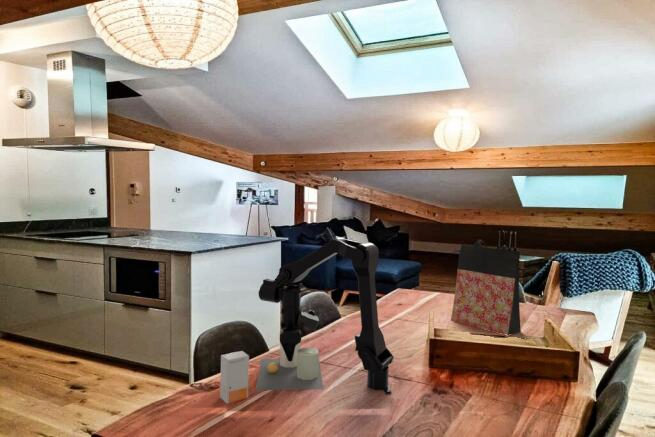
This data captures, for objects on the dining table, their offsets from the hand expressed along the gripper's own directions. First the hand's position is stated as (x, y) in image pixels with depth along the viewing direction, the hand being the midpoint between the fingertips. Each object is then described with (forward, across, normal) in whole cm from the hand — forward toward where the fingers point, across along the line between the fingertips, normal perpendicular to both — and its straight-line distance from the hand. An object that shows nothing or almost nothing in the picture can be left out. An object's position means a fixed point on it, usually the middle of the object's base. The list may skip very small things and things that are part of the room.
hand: (290, 355), depth 137 cm
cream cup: (+2, 0, 0) cm, 2 cm away
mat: (+4, -7, 0) cm, 8 cm away
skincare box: (+4, -22, +14) cm, 26 cm away
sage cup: (+2, -9, -5) cm, 11 cm away
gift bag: (+4, +43, -79) cm, 90 cm away
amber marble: (+1, -7, +5) cm, 9 cm away
